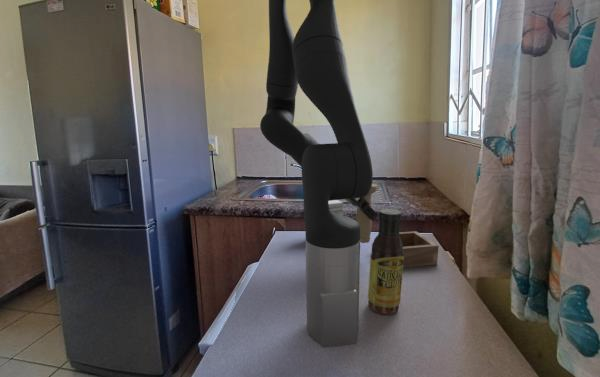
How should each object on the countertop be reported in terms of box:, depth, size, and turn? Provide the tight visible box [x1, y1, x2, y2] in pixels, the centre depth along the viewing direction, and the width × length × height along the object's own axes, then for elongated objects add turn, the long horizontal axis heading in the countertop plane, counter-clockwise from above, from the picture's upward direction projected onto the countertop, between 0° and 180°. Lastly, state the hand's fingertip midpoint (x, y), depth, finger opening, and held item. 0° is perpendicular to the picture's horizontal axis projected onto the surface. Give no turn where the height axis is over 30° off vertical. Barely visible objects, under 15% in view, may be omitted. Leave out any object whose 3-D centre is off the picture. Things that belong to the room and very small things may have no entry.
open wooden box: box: [399, 230, 439, 268], centre depth 92 cm, size 11×11×5 cm
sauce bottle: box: [367, 208, 404, 315], centre depth 67 cm, size 6×6×20 cm
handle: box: [355, 183, 379, 244], centre depth 89 cm, size 5×6×15 cm
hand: (371, 215), depth 89 cm, fingers closed on handle, 3 cm apart
